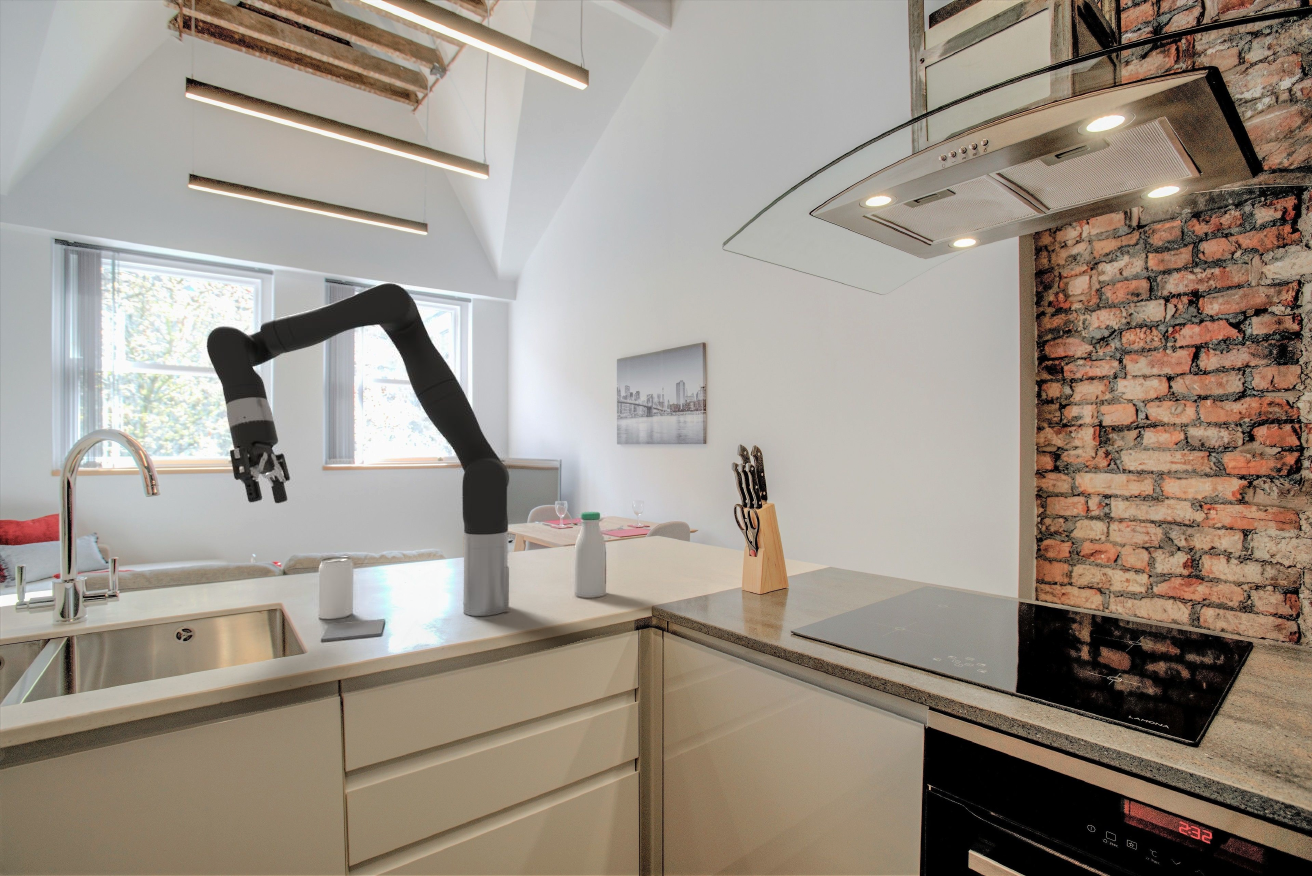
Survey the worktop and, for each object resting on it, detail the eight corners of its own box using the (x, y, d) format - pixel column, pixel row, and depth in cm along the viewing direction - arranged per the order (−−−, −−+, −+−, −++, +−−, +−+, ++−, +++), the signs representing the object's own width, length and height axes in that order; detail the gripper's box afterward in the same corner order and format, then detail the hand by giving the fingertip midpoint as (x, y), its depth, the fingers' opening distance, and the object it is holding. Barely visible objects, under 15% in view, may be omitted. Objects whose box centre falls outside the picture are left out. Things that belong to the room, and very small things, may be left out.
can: (337, 621, 121) (338, 562, 121) (310, 619, 122) (311, 561, 123) (359, 612, 128) (360, 556, 128) (333, 610, 129) (334, 555, 129)
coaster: (384, 621, 121) (384, 618, 121) (380, 635, 112) (380, 633, 112) (329, 626, 118) (329, 623, 118) (320, 641, 108) (320, 639, 108)
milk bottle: (604, 598, 140) (604, 514, 140) (571, 598, 140) (572, 514, 140) (607, 591, 147) (607, 510, 148) (576, 590, 148) (577, 510, 148)
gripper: (248, 413, 112) (266, 495, 111) (290, 424, 126) (307, 497, 125) (208, 424, 112) (225, 507, 110) (254, 434, 126) (271, 507, 124)
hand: (269, 501), depth 117 cm, fingers open, 8 cm apart
